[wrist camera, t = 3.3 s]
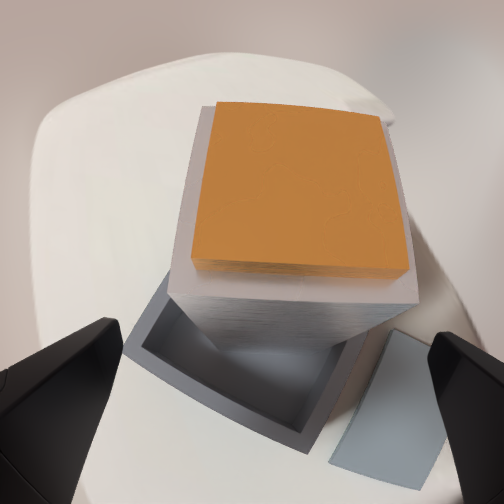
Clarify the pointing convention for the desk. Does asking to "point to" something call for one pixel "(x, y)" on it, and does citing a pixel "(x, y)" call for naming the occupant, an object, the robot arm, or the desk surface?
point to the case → (243, 374)
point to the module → (291, 229)
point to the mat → (395, 419)
